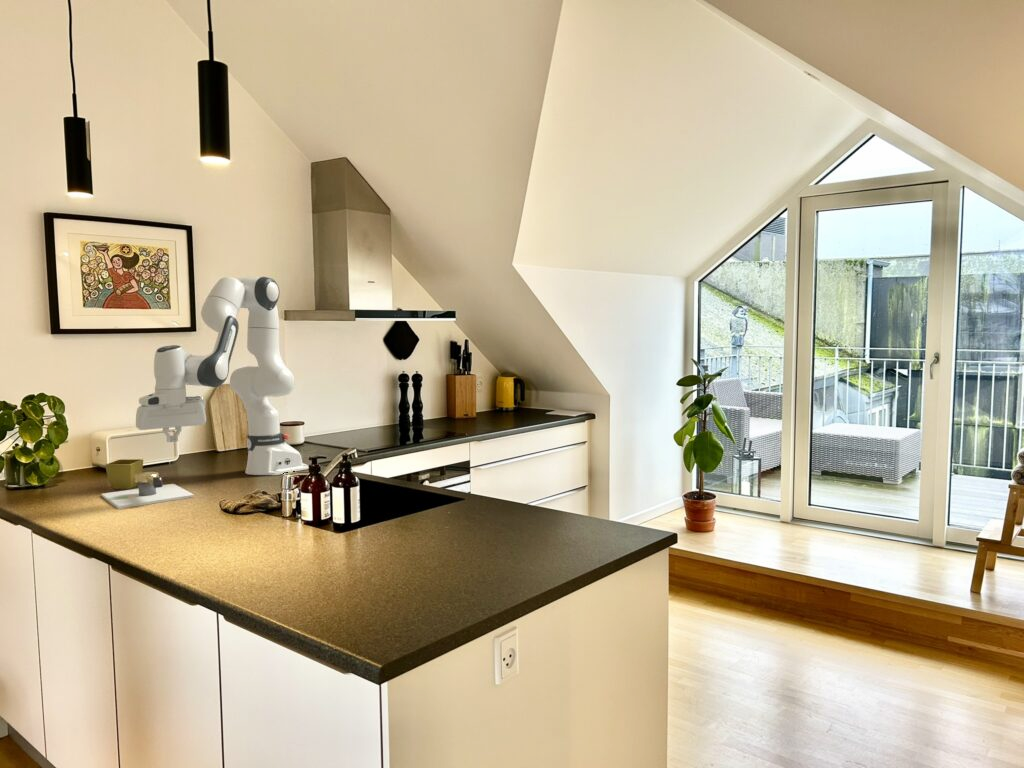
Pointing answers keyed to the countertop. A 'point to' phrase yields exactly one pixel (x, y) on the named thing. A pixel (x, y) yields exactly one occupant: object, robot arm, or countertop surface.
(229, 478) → the countertop surface
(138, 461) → the flower pot
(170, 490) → the base
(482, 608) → the countertop surface
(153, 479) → the locking lever
